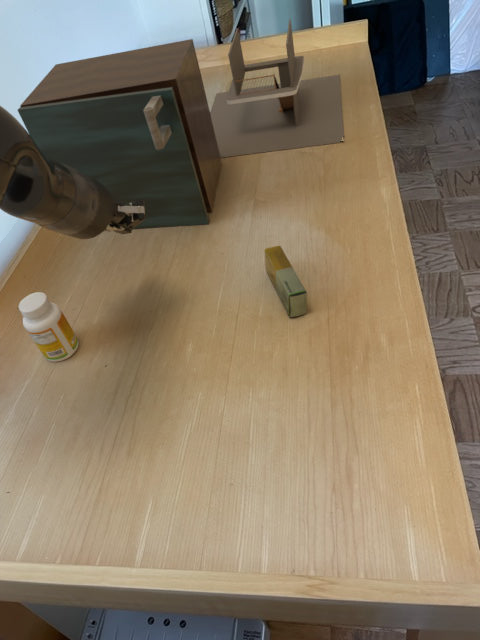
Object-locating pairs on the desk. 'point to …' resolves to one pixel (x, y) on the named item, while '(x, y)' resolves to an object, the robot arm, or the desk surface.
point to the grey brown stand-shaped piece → (276, 107)
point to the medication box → (286, 282)
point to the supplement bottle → (48, 327)
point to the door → (126, 150)
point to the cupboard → (141, 75)
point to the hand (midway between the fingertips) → (126, 226)
